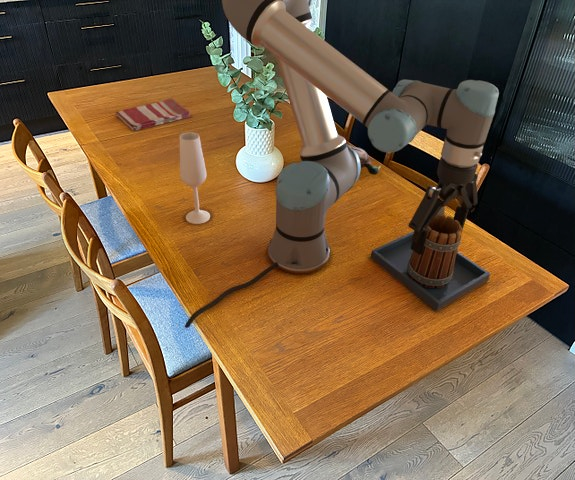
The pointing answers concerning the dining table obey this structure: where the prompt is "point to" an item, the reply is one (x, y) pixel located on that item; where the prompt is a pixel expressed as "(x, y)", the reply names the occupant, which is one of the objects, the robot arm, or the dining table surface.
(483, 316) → the dining table surface
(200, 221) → the champagne flute
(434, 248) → the mug
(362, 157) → the decorative duck model
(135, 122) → the dish towel
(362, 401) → the dining table surface
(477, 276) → the tray
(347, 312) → the dining table surface
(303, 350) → the dining table surface
